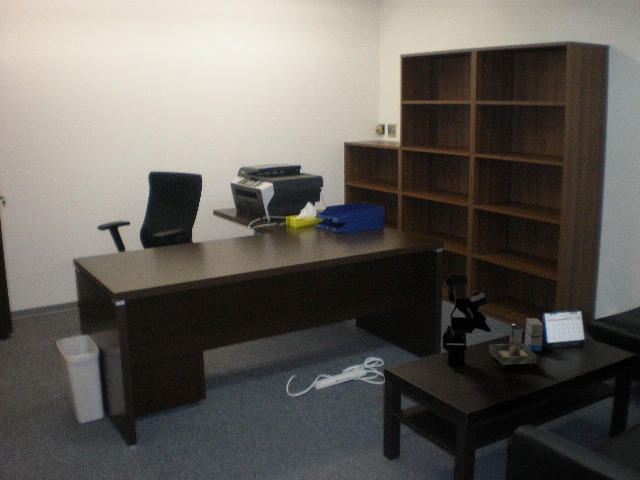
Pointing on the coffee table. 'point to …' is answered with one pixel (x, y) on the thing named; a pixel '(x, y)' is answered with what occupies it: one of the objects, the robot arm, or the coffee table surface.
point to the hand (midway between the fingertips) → (487, 326)
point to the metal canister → (515, 339)
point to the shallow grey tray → (505, 359)
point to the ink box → (534, 334)
